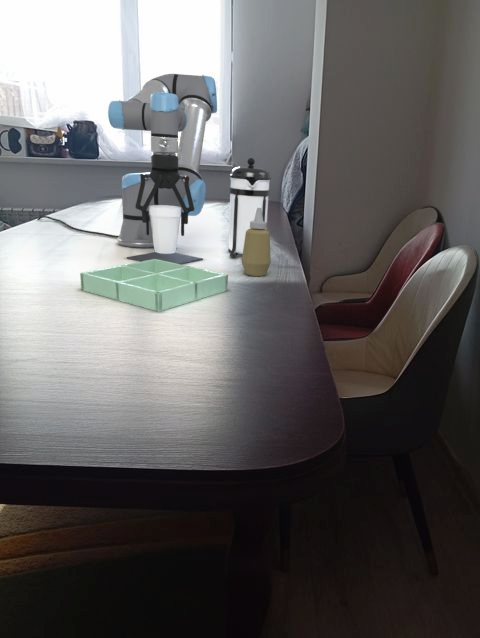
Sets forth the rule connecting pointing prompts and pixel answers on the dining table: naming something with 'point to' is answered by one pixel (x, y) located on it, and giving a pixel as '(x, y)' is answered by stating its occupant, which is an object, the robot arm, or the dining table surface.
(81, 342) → the dining table surface
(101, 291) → the divided sorting tray
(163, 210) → the foam cup
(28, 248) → the dining table surface
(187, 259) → the mat
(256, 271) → the squeeze bottle
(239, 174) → the coffee press
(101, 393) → the dining table surface
